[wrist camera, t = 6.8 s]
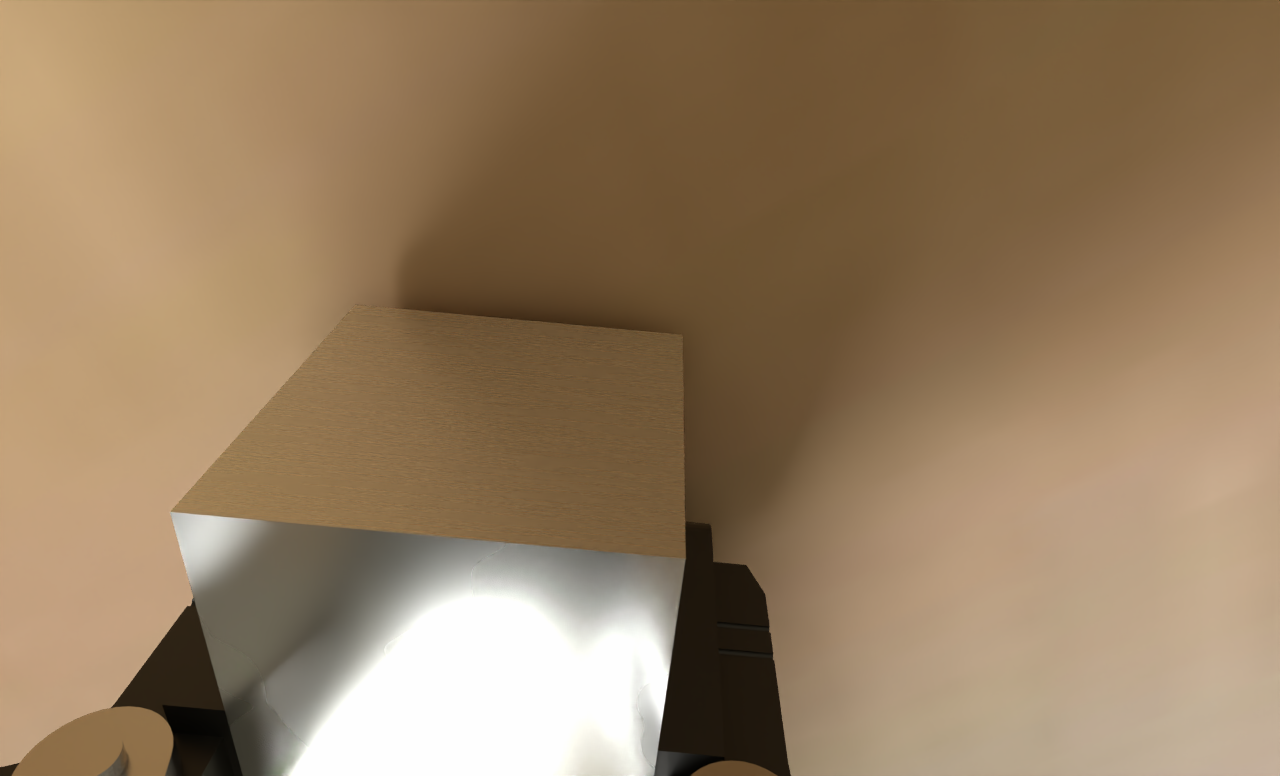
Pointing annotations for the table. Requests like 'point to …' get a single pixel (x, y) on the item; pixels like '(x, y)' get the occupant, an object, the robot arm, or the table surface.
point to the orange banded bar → (448, 551)
